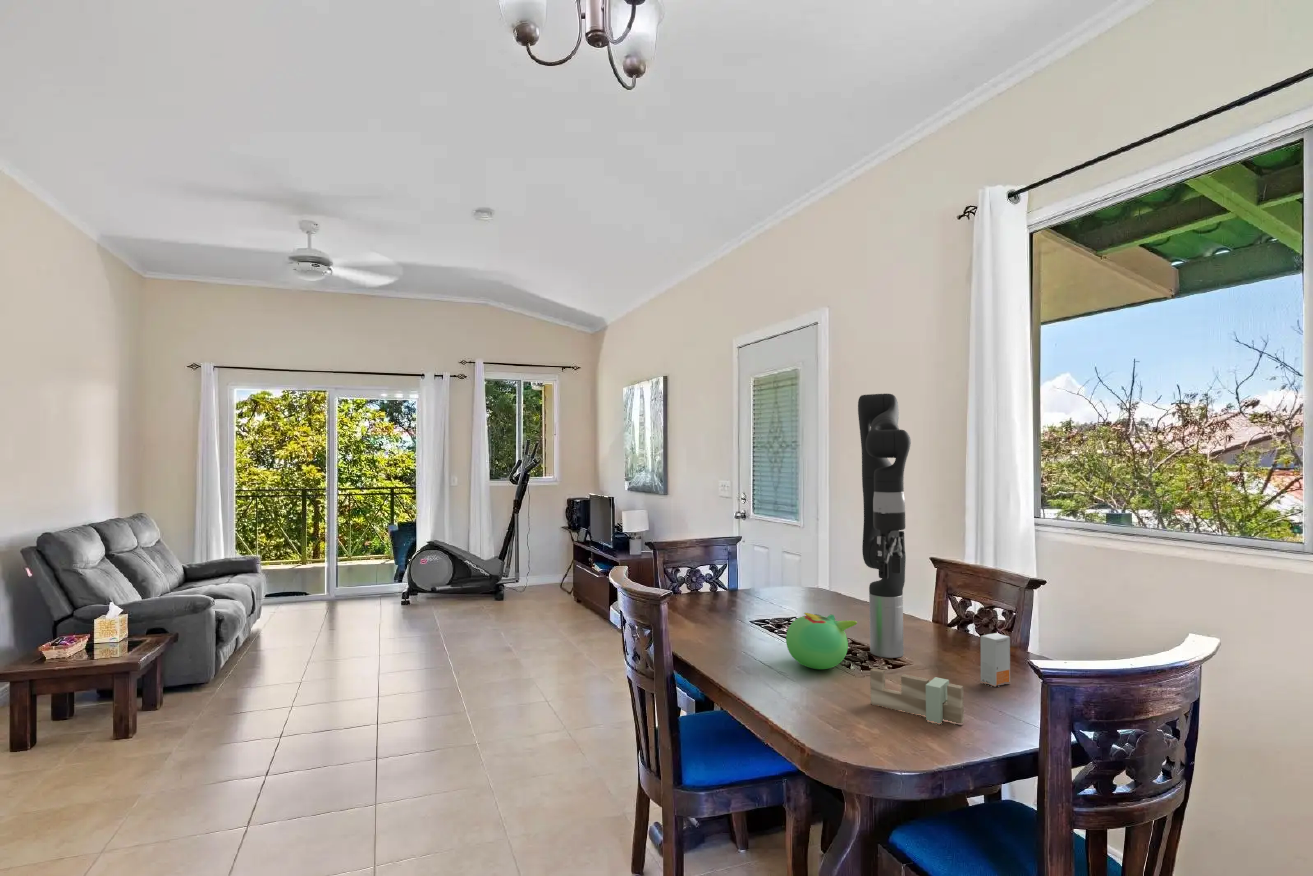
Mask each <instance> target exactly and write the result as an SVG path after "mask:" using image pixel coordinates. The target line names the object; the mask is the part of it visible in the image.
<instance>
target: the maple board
mask: <svg viewBox="0 0 1313 876" xmlns="http://www.w3.org/2000/svg"><path fill="white" fill-rule="evenodd" d="M869 671H870V673H869V674H870V675H869V678H870V705H871V704H872V706H875V705H879V706H883V707H887V708H886V709H888V708H891V709H890V710H892V709H895V710H894V711H896V710H902V711H905V712H909V713H914V714H921V715H925V716H926V684H927V683H929V682H930V679H929V678H925V677H919V676H915V675H909V674H904V673H903V674H902V675H901V676H900V682H901V683H900V685H901V686H900V687H901V691H898V690H894V689H891V688H890V689H889V688H886V669H880V668H876V667H875V668H874V667H873V668H871V669H870V670H869ZM942 704H943V719H944V720H948V721H952V722H956V723H963V722H964V719H965V716H964V715H965V713H964V705H965V704H964V685H958V684H954V683H949V685H947V702H944V703H942ZM879 706H878V707H879ZM883 707H882V708H883ZM964 723H965V722H964Z"/></svg>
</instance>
